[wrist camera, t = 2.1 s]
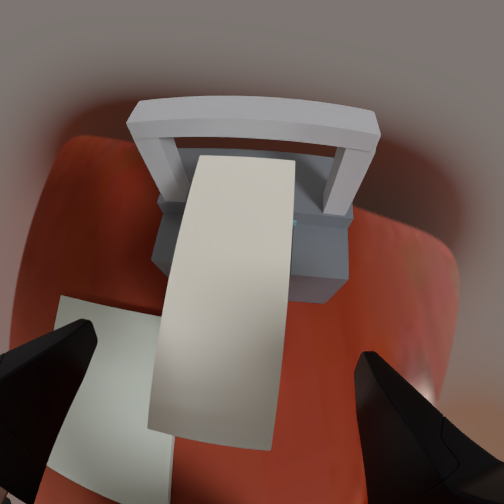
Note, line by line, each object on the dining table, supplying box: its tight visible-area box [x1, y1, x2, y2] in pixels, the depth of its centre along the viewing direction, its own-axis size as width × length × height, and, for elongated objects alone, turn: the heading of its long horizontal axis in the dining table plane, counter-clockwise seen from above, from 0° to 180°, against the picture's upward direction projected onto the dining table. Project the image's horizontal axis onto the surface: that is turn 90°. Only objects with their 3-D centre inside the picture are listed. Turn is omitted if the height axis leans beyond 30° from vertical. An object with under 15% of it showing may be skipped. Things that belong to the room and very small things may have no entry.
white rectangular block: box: [147, 155, 295, 451], centre depth 11 cm, size 8×3×10 cm, turn 174°
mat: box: [47, 295, 175, 504], centre depth 14 cm, size 14×10×1 cm
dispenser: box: [126, 96, 381, 304], centre depth 13 cm, size 6×9×11 cm, turn 84°
